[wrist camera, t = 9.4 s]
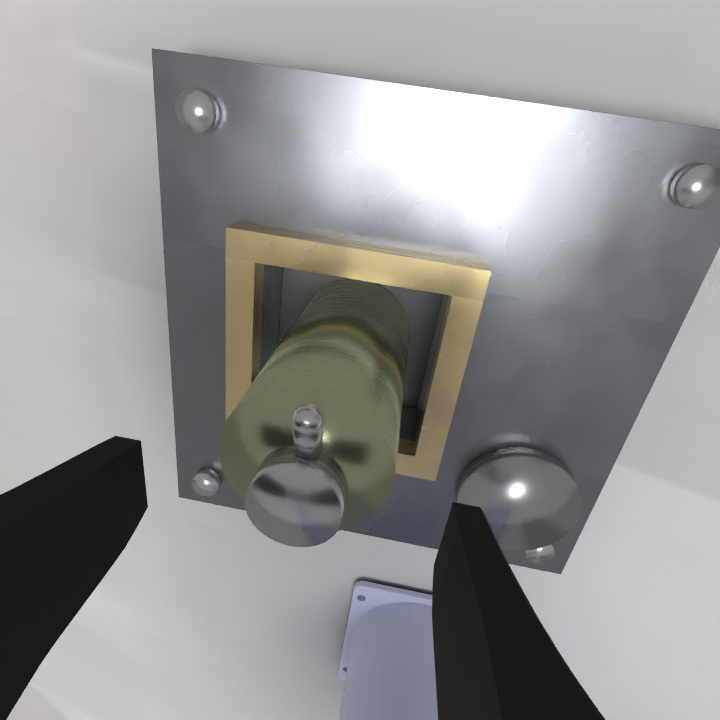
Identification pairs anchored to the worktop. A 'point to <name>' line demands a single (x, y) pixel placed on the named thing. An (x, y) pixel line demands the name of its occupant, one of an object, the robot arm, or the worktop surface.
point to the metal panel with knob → (435, 274)
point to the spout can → (322, 418)
